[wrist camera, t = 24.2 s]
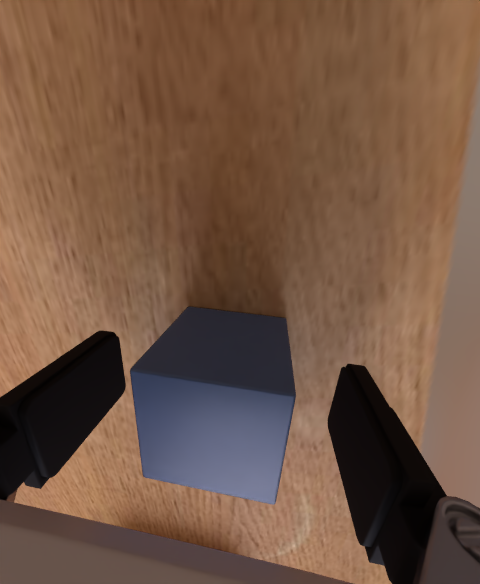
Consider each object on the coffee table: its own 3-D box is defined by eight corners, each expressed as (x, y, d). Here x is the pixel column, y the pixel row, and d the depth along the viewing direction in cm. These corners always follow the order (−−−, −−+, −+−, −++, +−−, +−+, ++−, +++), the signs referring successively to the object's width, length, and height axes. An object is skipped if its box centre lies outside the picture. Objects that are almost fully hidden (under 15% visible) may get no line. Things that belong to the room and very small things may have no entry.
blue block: (286, 317, 10) (296, 395, 6) (274, 397, 12) (275, 506, 7) (187, 305, 10) (128, 369, 6) (188, 383, 12) (142, 478, 8)
